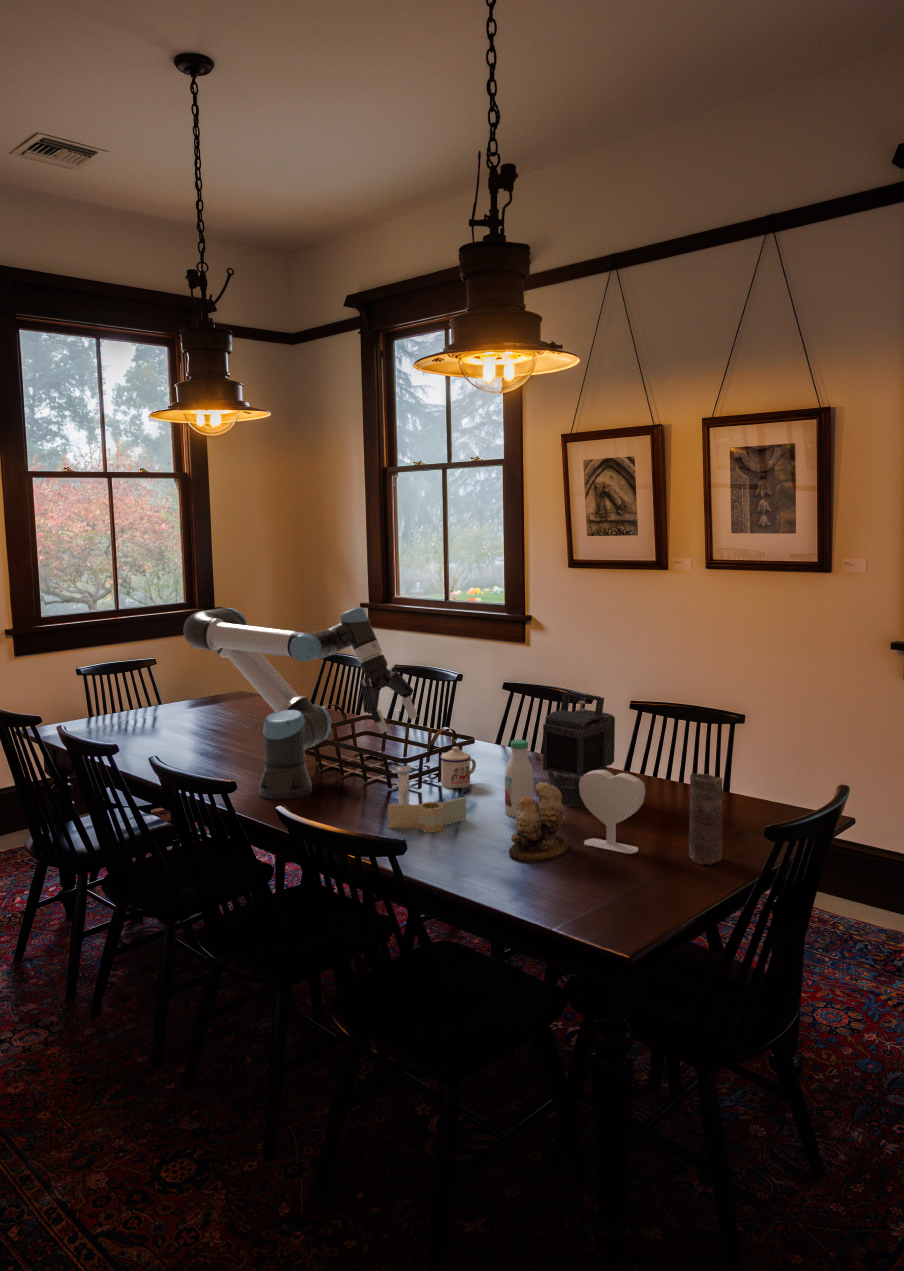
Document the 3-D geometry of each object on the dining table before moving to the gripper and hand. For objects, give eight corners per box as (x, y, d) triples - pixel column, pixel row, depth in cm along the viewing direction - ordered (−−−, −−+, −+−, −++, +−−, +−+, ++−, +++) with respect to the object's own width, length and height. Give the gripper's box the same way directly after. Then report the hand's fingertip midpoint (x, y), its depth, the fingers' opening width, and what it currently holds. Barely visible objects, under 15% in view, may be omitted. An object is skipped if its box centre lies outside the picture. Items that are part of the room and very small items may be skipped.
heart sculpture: (645, 848, 207) (646, 775, 205) (637, 855, 203) (638, 780, 201) (585, 836, 216) (586, 766, 213) (576, 842, 211) (577, 771, 209)
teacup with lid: (452, 791, 254) (452, 752, 253) (434, 784, 262) (434, 746, 260) (484, 784, 261) (484, 746, 260) (466, 777, 269) (466, 740, 267)
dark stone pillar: (683, 854, 203) (685, 771, 201) (714, 853, 204) (716, 770, 202) (695, 866, 196) (697, 780, 193) (726, 865, 196) (729, 779, 194)
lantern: (537, 800, 245) (537, 696, 242) (573, 786, 258) (574, 687, 255) (581, 811, 235) (582, 702, 231) (617, 796, 248) (618, 693, 244)
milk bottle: (536, 810, 236) (536, 739, 234) (529, 819, 229) (529, 745, 226) (509, 808, 239) (509, 737, 236) (501, 816, 231) (501, 743, 229)
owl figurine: (541, 835, 217) (542, 769, 215) (581, 847, 209) (582, 778, 207) (496, 855, 203) (497, 785, 201) (538, 868, 196) (539, 795, 194)
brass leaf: (386, 831, 221) (386, 808, 220) (390, 823, 227) (390, 800, 226) (441, 833, 219) (441, 810, 218) (444, 824, 225) (444, 802, 224)
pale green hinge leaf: (428, 834, 218) (428, 811, 217) (414, 827, 223) (414, 805, 222) (472, 822, 227) (472, 800, 226) (457, 816, 232) (457, 794, 231)
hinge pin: (395, 815, 233) (394, 769, 231) (398, 811, 236) (397, 765, 235) (410, 816, 232) (409, 769, 231) (412, 811, 236) (411, 765, 235)
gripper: (351, 665, 243) (380, 734, 242) (406, 644, 262) (433, 708, 262) (334, 673, 248) (363, 741, 247) (389, 652, 267) (416, 715, 266)
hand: (399, 724), depth 254 cm, fingers open, 13 cm apart
